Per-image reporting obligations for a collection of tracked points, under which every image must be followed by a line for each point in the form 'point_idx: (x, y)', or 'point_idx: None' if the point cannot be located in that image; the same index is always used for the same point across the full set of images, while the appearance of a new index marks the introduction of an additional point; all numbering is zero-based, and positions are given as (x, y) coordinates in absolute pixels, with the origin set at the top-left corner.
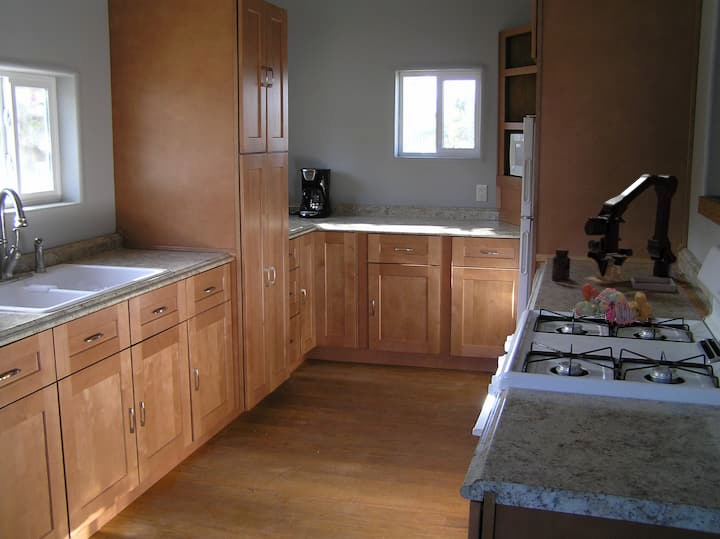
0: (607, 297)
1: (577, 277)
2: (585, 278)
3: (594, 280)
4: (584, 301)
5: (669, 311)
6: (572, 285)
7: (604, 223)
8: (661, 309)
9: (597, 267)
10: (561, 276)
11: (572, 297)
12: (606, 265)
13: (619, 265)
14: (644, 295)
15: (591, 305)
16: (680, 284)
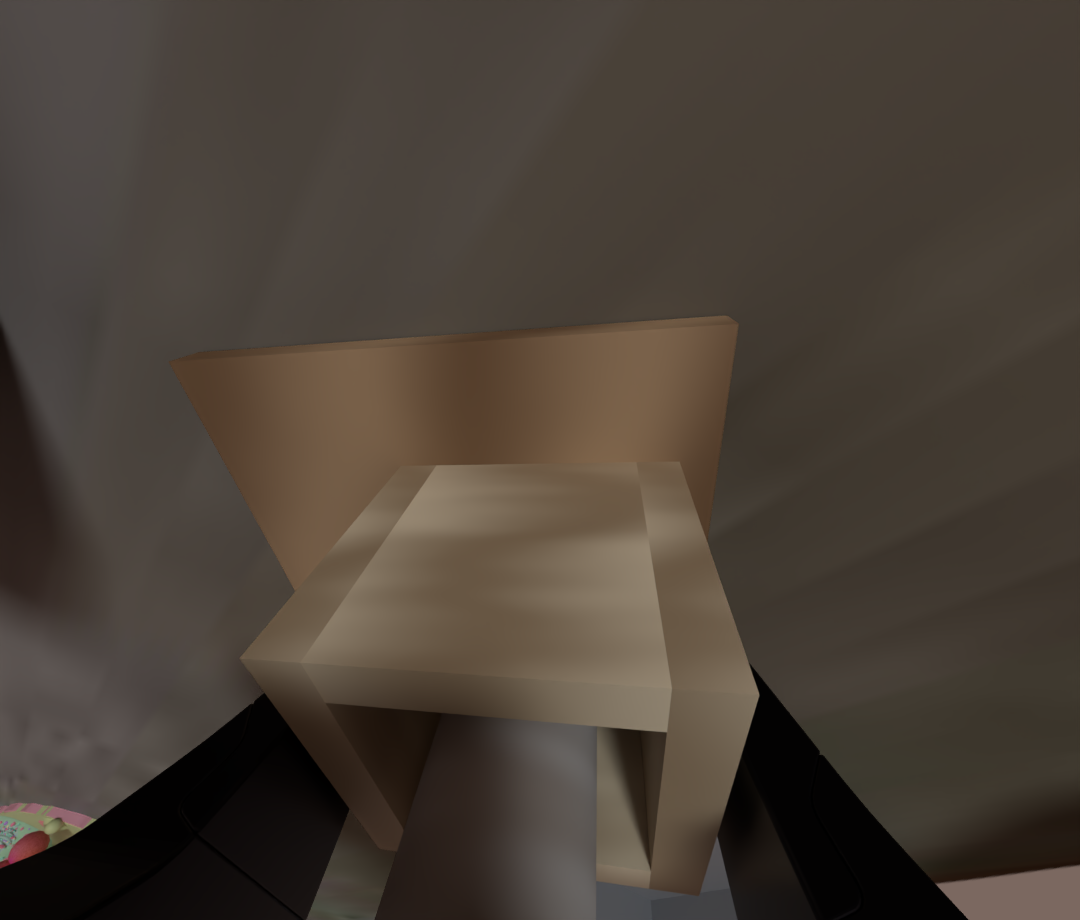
0: None
1: (198, 56)
2: (220, 416)
3: (293, 559)
4: (23, 837)
5: (346, 916)
6: (27, 533)
7: None
8: (336, 905)
9: (290, 620)
10: None
11: (8, 729)
12: (298, 879)
13: (727, 878)
14: None
15: (72, 828)
16: (1007, 871)
